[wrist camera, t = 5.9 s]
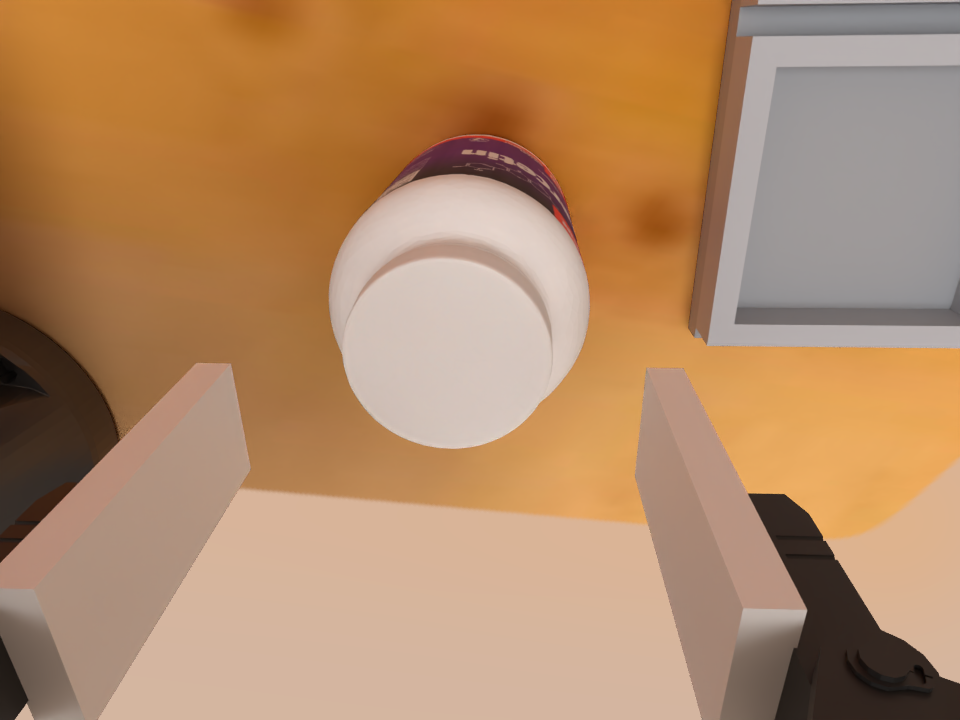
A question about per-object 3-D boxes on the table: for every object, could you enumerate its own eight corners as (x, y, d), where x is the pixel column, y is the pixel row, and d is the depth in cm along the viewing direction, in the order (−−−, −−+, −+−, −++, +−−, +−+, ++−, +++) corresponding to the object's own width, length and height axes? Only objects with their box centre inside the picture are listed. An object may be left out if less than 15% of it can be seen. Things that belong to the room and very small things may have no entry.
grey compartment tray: (688, 327, 32) (705, 356, 29) (791, -447, 21) (836, -525, 18) (947, 329, 31) (991, 359, 29) (1197, -465, 20) (1310, -548, 17)
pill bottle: (604, 223, 30) (673, 363, 17) (479, 338, 33) (456, 535, 20) (475, 87, 28) (441, 129, 15) (352, 223, 31) (233, 358, 18)
